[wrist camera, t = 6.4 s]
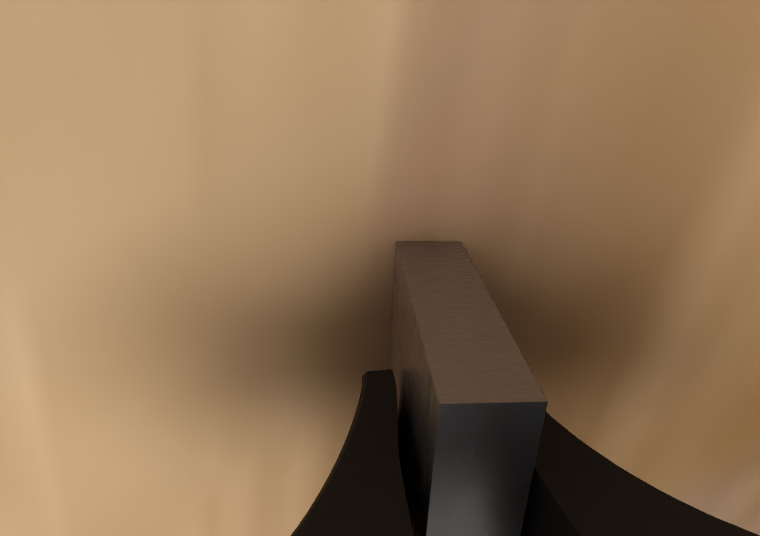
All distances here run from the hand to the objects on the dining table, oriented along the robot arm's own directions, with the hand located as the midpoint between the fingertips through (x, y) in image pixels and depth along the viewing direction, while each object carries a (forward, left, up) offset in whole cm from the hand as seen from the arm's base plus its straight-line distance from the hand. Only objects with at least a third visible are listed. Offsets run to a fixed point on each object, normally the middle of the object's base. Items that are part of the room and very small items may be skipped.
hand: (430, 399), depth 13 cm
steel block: (+1, +10, -2) cm, 10 cm away
